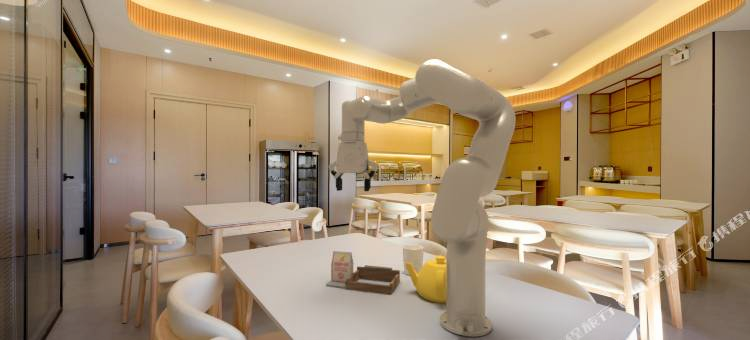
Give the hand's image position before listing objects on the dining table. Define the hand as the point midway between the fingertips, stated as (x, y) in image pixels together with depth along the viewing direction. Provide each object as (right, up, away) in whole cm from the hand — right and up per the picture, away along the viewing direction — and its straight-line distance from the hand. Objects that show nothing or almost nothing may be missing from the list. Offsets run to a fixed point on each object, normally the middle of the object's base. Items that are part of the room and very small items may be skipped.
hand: (353, 190), depth 104 cm
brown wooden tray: (+7, -32, +3) cm, 33 cm away
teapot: (+28, -33, -5) cm, 43 cm away
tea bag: (-4, -32, +6) cm, 33 cm away
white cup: (+22, -33, +16) cm, 42 cm away
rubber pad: (-4, -32, +6) cm, 33 cm away
